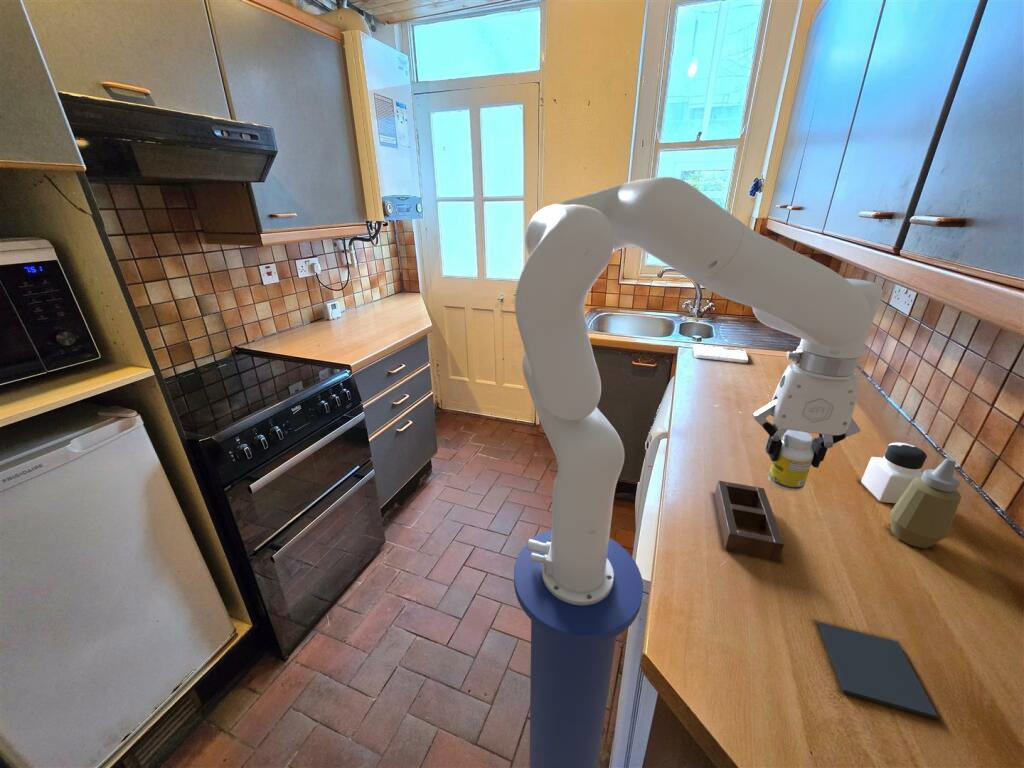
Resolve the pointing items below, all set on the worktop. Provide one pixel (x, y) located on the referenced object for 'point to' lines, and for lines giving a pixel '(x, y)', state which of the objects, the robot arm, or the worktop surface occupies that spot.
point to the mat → (875, 670)
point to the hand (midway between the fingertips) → (792, 459)
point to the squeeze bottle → (927, 507)
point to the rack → (748, 521)
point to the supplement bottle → (792, 461)
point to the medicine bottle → (893, 471)
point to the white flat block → (720, 354)
